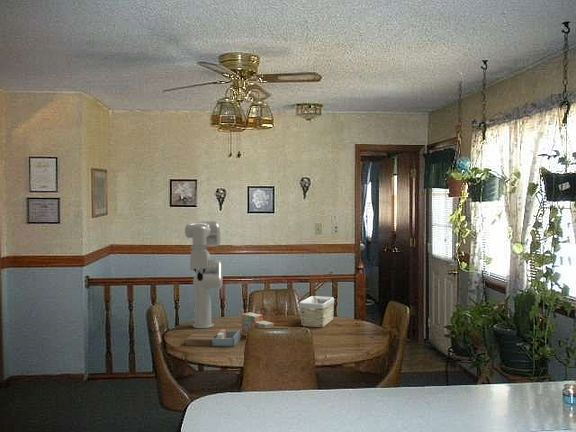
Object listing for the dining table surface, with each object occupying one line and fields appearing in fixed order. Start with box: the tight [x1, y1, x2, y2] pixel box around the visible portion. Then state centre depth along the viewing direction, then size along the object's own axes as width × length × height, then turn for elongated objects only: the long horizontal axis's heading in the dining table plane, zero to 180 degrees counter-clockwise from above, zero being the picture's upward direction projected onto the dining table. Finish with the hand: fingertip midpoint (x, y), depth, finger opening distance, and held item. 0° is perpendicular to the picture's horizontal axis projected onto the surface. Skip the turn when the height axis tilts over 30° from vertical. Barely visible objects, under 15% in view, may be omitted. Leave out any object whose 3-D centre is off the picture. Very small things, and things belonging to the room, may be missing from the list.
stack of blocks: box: [241, 311, 275, 337], centre depth 332 cm, size 21×6×12 cm, turn 41°
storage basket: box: [298, 295, 335, 328], centre depth 366 cm, size 24×16×15 cm
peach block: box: [218, 328, 227, 339], centre depth 325 cm, size 5×5×2 cm
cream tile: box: [217, 332, 224, 339], centre depth 317 cm, size 5×5×2 cm
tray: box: [211, 328, 242, 348], centre depth 321 cm, size 18×12×5 cm, turn 173°
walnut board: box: [184, 332, 219, 347], centre depth 323 cm, size 16×14×3 cm
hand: (200, 280), depth 334 cm, fingers closed
